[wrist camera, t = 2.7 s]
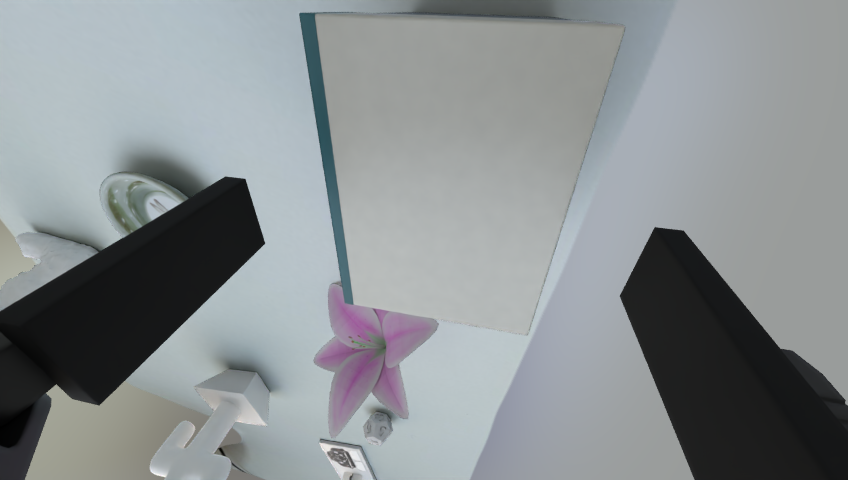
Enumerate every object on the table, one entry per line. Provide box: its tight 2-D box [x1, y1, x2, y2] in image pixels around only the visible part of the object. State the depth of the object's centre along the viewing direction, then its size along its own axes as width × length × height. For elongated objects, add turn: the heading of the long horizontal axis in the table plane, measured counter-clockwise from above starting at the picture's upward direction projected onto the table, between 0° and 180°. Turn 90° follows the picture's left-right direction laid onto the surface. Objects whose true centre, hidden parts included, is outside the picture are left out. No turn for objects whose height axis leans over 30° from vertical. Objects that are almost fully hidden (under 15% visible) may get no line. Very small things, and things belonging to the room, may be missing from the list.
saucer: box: [100, 172, 189, 238], centre depth 28 cm, size 10×10×2 cm
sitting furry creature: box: [0, 232, 98, 311], centre depth 31 cm, size 10×9×12 cm
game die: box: [363, 412, 393, 446], centre depth 41 cm, size 4×4×3 cm
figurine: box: [150, 369, 270, 480], centre depth 38 cm, size 7×9×15 cm
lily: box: [313, 284, 439, 438], centre depth 27 cm, size 12×12×10 cm
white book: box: [299, 12, 625, 335], centre depth 14 cm, size 12×9×4 cm
